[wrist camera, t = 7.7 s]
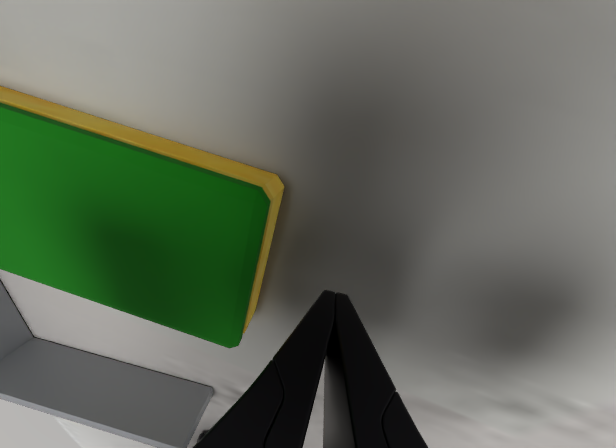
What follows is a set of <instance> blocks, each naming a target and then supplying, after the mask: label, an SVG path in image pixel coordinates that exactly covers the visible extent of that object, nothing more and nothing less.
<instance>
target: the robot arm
mask: <svg viewBox="0 0 616 448" xmlns="http://www.w3.org/2000/svg"><path fill="white" fill-rule="evenodd" d="M324 360H325V377H324V428H323V448H428V446H427V445H426V443H425V441H424V440H423V438H422V436H421V435H420V433H419V431H418V429H417V428H416V426H415V424H414V422H413V420H412V418H411V416H410V415H409V413H408V411H407V409H406V407H405V405H404V403H403V401H402V399H401V398H400V396H399V394H398V392H395V391H396V388H395V386H394V384H393V382H392V380H391V378H390V376H389V374H388V372H387V371H386V369H385V367H384V365H383V363H382V361H381V359H380V357H379V355H378V353H377V351H376V349H375V347H374V345H373V343H372V341H371V339H370V338H369V336H368V334H367V332H366V330H365V328H364V326H363V324H362V322H361V320H360V318H359V316H358V314H357V312H356V310H355V308H354V306H353V305H352V303H351V301H350V299H349V297H348V295H346V294H342V293H336V294H335V292H333V291H329V290H324V291H323V292H322V294H321V295H320V296H319V298H318V299H317V300H316V301H315V303H314V304H313V305H312V307H311V308H310V309H309V311H308V312H307V313H306V315H305V316H304V317H303V319H302V320H301V321H300V323H299V324H298V325H297V327H296V328H295V329H294V331H293V332H292V333H291V335H290V336H289V337H288V339H287V340H286V341H285V343H284V344H283V345H282V347H281V348H280V349H279V351H278V352H277V353H276V355H275V356H274V357H273V360H271V361H270V362H269V364H268V365H267V366H266V368H265V369H264V370H263V371H262V373H261V374H260V375H259V376H258V378H257V379H256V380H255V381H254V383H253V384H252V385H251V386H250V387H249V389H248V390H247V391H246V392H245V393H244V394H243V395H242V396H241V397H240V399H239V400H238V401H237V402H236V403H235V404H234V405H233V406H232V407H231V408H230V409H229V410H228V411H227V412H226V413H225V415H224V416H223V417H222V418H221V419H220V420H219V421H218V422H217V423H216V424H215V425H214V426H213V427H212V428H211V429H210V430H209V431H208V432H207V433H206V434H204V433H201V434H200V436H199V438H198V440H197V444H196V445H195V446H194V447H193V448H303V444H304V440H305V436H306V432H307V428H308V424H309V420H310V416H311V412H312V408H313V404H314V400H315V396H316V392H317V388H318V384H319V380H320V376H321V372H322V368H323V364H324Z"/></svg>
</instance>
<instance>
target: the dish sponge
mask: <svg viewBox="0 0 616 448" xmlns="http://www.w3.org/2000/svg"><path fill="white" fill-rule="evenodd" d="M283 191H284V185H283V184H282V182H281V180H280V179H279V177H278V175H277V174H274V173H270V172H267V171H264V170H261V169H258V168H255V167H252V166H249V165H245V164H242V163H239V162H236V161H233V160H230V159H227V158H224V157H221V156H217V155H214V154H211V153H208V152H205V151H202V150H199V149H196V148H192V147H189V146H186V145H183V144H180V143H177V142H174V141H171V140H168V139H164V138H161V137H158V136H155V135H152V134H149V133H146V132H143V131H139V130H136V129H133V128H130V127H127V126H124V125H121V124H118V123H115V122H111V121H108V120H105V119H102V118H99V117H96V116H93V115H90V114H86V113H83V112H80V111H77V110H74V109H71V108H68V107H65V106H62V105H58V104H55V103H52V102H49V101H46V100H43V99H40V98H37V97H33V96H30V95H27V94H24V93H21V92H18V91H15V90H12V89H9V88H5V87H2V86H0V269H2V270H5V271H8V272H10V273H13V274H16V275H19V276H22V277H25V278H28V279H31V280H34V281H36V282H39V283H42V284H45V285H48V286H51V287H54V288H57V289H60V290H62V291H65V292H68V293H71V294H74V295H77V296H80V297H83V298H86V299H89V300H91V301H94V302H97V303H100V304H103V305H106V306H109V307H112V308H115V309H117V310H120V311H123V312H126V313H129V314H132V315H135V316H138V317H141V318H143V319H146V320H149V321H152V322H155V323H158V324H161V325H164V326H167V327H169V328H172V329H175V330H178V331H181V332H184V333H187V334H190V335H193V336H196V337H198V338H201V339H204V340H207V341H210V342H213V343H216V344H219V345H222V346H224V347H227V348H232V347H236V346H238V345H239V343H240V341H241V339H242V335H243V333H245V331H246V329H247V327H248V325H249V323H250V321H251V318H252V316H253V314H254V312H255V310H256V306H257V301H258V297H259V293H260V289H261V284H262V280H263V276H264V272H265V267H266V263H267V259H268V255H269V250H270V246H271V242H272V237H273V233H274V229H275V225H276V220H277V216H278V212H279V208H280V203H281V199H282V195H283Z"/></svg>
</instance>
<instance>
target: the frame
mask: <svg viewBox="0 0 616 448" xmlns="http://www.w3.org/2000/svg"><path fill="white" fill-rule="evenodd" d="M212 395H213V391H212V387H208V386H205V385H201V384H198V383H194V382H191V381H187V380H183V379H180V378H176V377H173V376H169V375H166V374H162V373H159V372H155V371H151V370H148V369H144V368H141V367H137V366H134V365H130V364H127V363H123V362H120V361H116V360H112V359H109V358H105V357H102V356H98V355H95V354H91V353H88V352H84V351H80V350H77V349H73V348H70V347H66V346H63V345H59V344H56V343H52V342H49V341H45V340H41V339H38V338H34V337H33V336H32V334H31V332H30V331H29V329H28V327H27V326H26V324H25V322H24V321H23V319H22V317H21V315H20V314H19V312H18V310H17V309H16V307H15V305H14V304H13V302H12V300H11V299H10V297H9V295H8V293H7V292H6V290H5V288H4V287H3V285H2V283H1V282H0V399H3V400H6V401H10V402H13V403H16V404H19V405H22V406H25V407H28V408H32V409H35V410H38V411H41V412H45V413H48V414H51V415H54V416H57V417H61V418H64V419H67V420H70V421H74V422H77V423H80V424H83V425H86V426H90V427H93V428H96V429H99V430H103V431H106V432H109V433H112V434H115V435H119V436H122V437H125V438H128V439H132V440H135V441H138V442H141V443H144V444H148V445H151V446H154V447H157V448H187V446H188V444H189V442H190V440H191V438H192V436H193V434H194V432H195V429H196V427H197V425H198V423H199V421H200V419H201V417H202V415H203V413H204V411H205V409H206V407H207V405H208V403H209V401H210V399H211V397H212Z"/></svg>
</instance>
